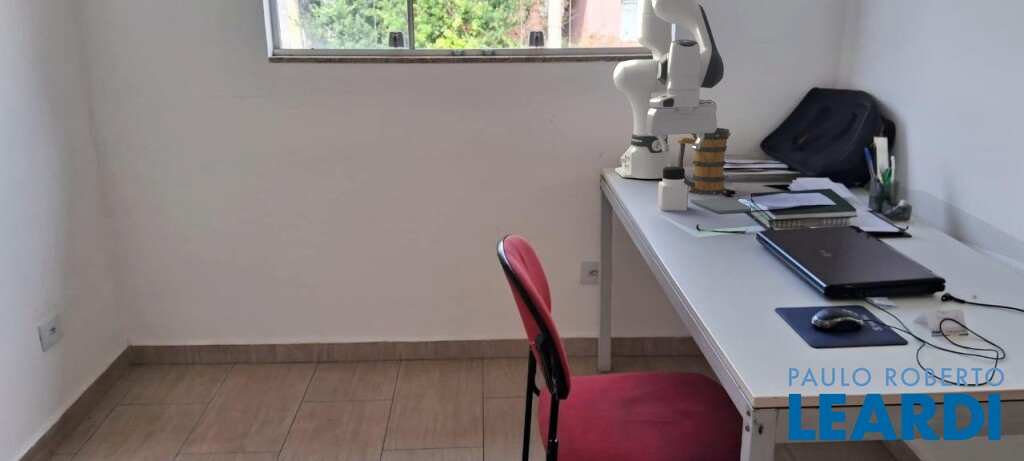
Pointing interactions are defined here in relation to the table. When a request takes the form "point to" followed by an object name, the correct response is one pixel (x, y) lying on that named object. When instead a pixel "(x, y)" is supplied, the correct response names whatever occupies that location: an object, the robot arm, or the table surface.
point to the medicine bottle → (673, 190)
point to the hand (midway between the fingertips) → (680, 150)
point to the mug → (707, 162)
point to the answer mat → (722, 205)
